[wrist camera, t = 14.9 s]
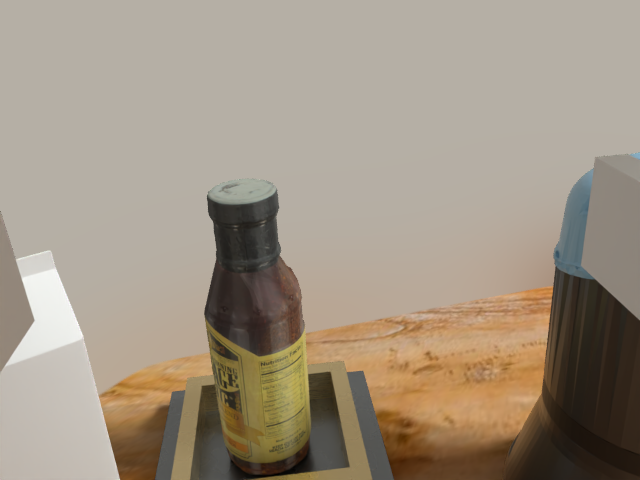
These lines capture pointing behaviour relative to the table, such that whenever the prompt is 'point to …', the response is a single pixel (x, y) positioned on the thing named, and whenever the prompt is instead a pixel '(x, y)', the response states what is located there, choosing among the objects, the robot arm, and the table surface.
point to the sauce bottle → (256, 333)
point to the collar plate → (325, 437)
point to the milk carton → (51, 392)
